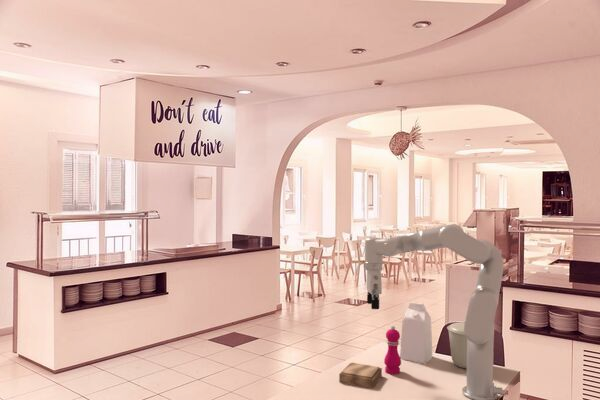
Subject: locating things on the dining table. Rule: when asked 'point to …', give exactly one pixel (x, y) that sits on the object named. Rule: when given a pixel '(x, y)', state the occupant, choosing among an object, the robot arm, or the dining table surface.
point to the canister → (458, 344)
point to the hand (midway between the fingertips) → (373, 306)
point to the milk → (416, 334)
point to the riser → (360, 375)
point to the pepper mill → (392, 352)
